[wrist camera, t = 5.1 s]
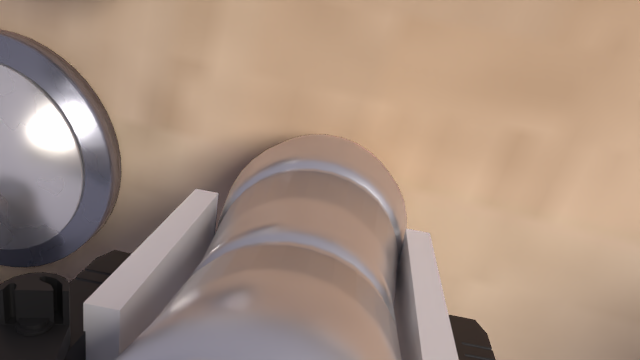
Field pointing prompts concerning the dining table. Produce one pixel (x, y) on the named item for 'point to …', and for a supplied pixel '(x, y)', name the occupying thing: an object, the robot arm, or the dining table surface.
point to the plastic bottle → (293, 264)
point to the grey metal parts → (51, 156)
